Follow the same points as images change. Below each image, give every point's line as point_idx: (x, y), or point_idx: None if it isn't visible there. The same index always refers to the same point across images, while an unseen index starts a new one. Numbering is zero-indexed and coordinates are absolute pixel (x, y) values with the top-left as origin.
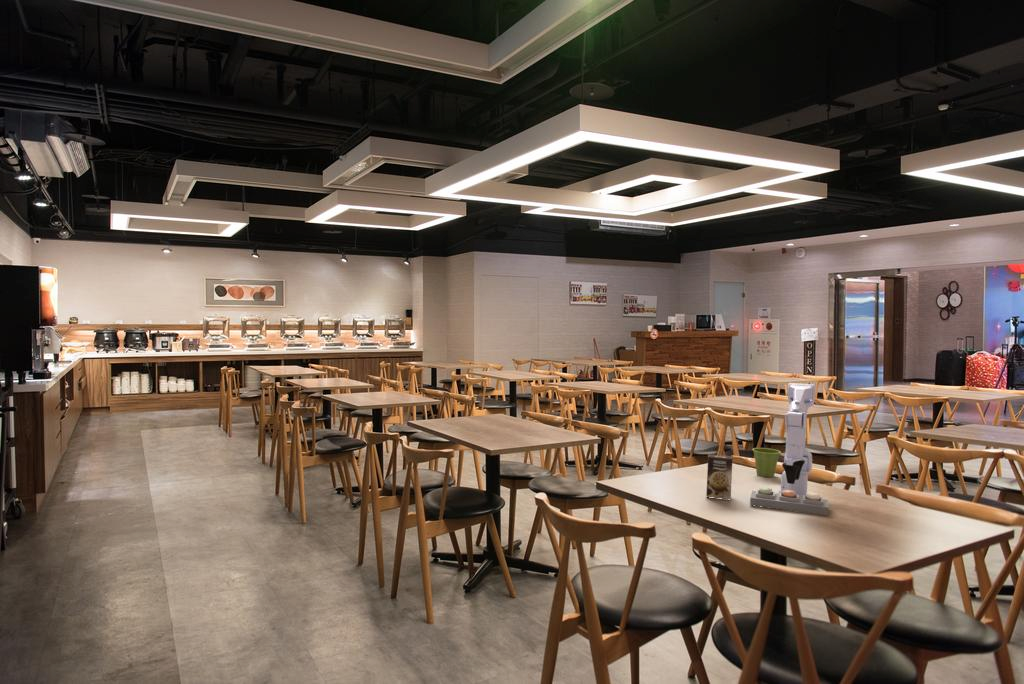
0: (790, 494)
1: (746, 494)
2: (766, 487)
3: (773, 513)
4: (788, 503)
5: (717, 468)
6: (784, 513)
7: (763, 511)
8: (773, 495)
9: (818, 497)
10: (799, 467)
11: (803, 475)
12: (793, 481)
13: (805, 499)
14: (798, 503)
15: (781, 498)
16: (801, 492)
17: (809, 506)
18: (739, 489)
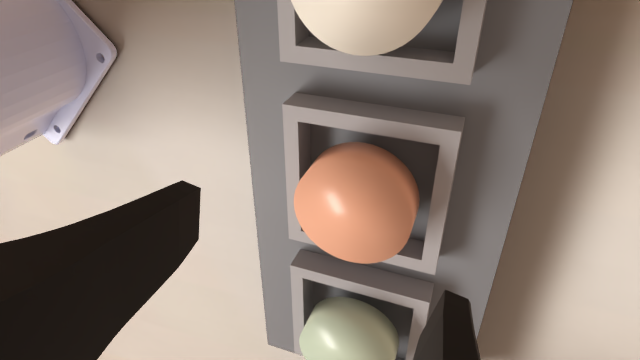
0: (413, 208)
1: (222, 309)
2: (299, 339)
3: (634, 284)
4: (515, 202)
5: None
6: (614, 210)
7: (587, 329)
8: (417, 306)
9: None
10: (55, 297)
11: None
12: (470, 331)
13: (463, 61)
14: (525, 125)
15: (439, 251)
16: (47, 23)
17: (569, 11)
18: (153, 313)
